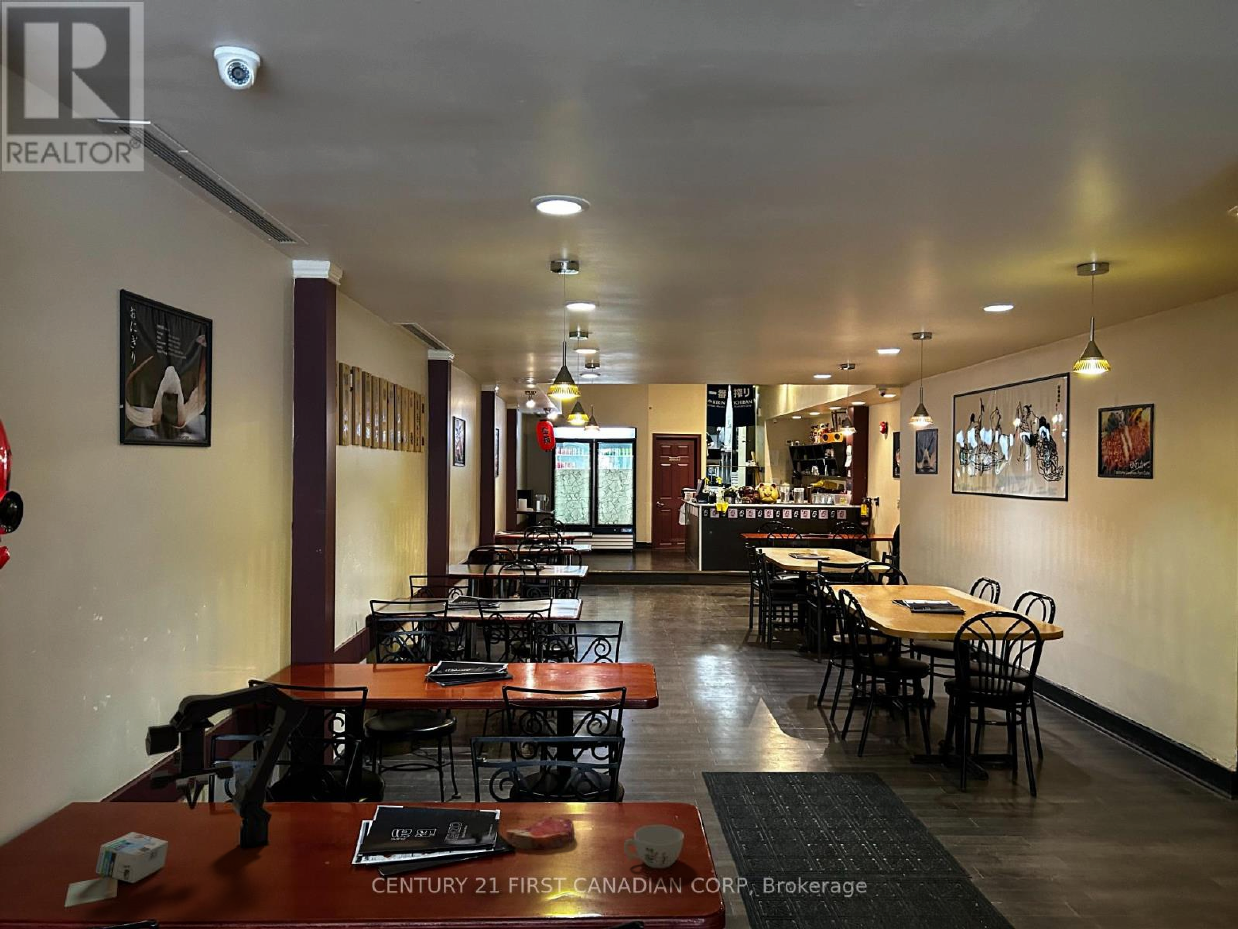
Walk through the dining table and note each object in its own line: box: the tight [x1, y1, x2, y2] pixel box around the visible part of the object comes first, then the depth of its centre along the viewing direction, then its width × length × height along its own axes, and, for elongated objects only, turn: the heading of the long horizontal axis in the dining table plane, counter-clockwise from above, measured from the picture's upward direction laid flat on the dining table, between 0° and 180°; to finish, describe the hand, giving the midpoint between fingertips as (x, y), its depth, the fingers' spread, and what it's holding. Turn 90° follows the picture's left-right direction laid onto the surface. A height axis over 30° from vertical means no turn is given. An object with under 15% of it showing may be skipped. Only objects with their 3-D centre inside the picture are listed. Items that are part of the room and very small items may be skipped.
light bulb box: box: [95, 831, 169, 884], centre depth 207 cm, size 11×7×11 cm
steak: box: [505, 816, 575, 852], centre depth 225 cm, size 25×21×6 cm
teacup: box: [623, 824, 685, 869], centre depth 214 cm, size 15×12×8 cm
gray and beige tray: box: [64, 876, 119, 908], centre depth 199 cm, size 10×12×2 cm
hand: (192, 809), depth 215 cm, fingers closed
